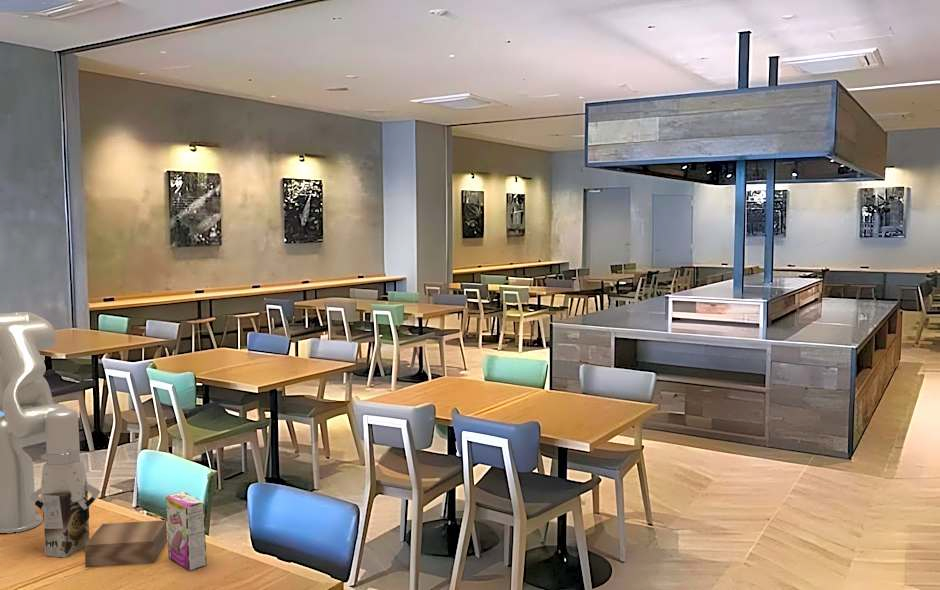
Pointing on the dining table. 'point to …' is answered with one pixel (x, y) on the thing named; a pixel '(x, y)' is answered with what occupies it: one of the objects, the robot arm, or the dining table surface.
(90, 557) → the walnut box
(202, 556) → the candy bar box
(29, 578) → the dining table surface
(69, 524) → the coffee box
